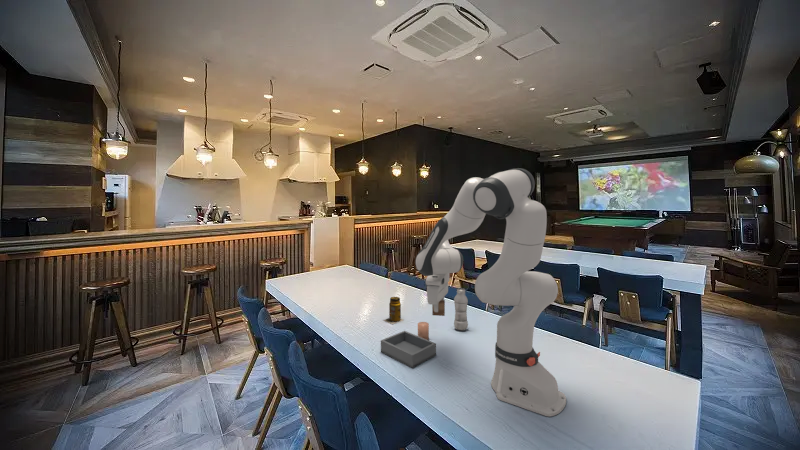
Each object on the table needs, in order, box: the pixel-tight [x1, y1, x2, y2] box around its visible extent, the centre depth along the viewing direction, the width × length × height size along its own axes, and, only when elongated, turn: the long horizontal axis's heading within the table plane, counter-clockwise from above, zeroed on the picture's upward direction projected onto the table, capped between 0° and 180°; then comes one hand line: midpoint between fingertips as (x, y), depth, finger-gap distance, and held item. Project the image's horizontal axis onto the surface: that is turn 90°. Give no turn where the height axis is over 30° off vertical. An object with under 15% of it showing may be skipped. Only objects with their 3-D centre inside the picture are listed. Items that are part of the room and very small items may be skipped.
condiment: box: [383, 296, 404, 325], centre depth 162 cm, size 7×8×12 cm
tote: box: [380, 330, 437, 369], centre depth 125 cm, size 18×14×5 cm
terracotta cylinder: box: [417, 321, 430, 341], centre depth 139 cm, size 5×5×7 cm
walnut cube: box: [431, 299, 446, 317], centre depth 129 cm, size 5×5×5 cm
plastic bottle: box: [453, 287, 469, 331], centre depth 149 cm, size 6×7×20 cm
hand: (438, 309), depth 129 cm, fingers closed on walnut cube, 6 cm apart
